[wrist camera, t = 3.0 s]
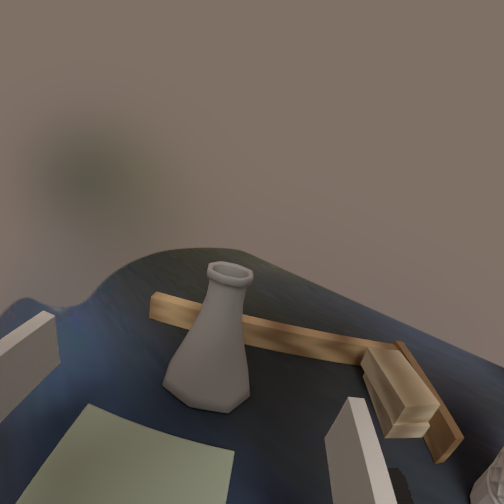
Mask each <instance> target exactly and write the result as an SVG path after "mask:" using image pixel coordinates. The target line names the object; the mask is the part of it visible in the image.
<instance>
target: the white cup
mask: <svg viewBox="0 0 504 504" xmlns="http://www.w3.org/2000/svg"><path fill="white" fill-rule="evenodd" d="M470 501H471V504H504V447H503V448H502V450H501V451H500V452H499V454H498V455H497V456H496V458H495V460H494V461H493V463H492V464H491V465H490V466H489V467H488V469H487V470H486V471H485V472H484V473H483V474H482V475H481V476H480V477H479V479H478V480H477V481H476V482H475V483H474V485H473V488H472V491H471V494H470Z"/></svg>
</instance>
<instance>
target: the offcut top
mask: <svg viewBox="0 0 504 504" xmlns="http://www.w3.org/2000/svg"><path fill="white" fill-rule="evenodd" d="M360 364H361V366H362V368H363V370H364V372H365V373H366V375H367V377H368V379H369V381H370V382H371V384H372V386H373V388H374V390H375V391H376V393H377V395H378V397H379V399H380V401H381V402H382V404H383V406H384V408H385V410H386V412H387V414H388V415H389V417H390V419H391V421H392V423H393V425H400V424H411V423H421V422H429V421H430V419H431V418H432V416H433V415H434V413H435V412H436V411H437V409H438V407H439V406H440V403H439V402H438V400H437V399H436V397H435V396H434V395H433V393H432V392H431V391H430V389H429V388H428V387H427V386H426V384H425V383H424V382H423V380H422V379H421V378H420V376H419V375H418V374H417V372H416V371H415V370H414V369H413V367H412V366H411V365H410V363H409V362H408V361H407V360H406V358H405V357H404V356H403V355H402V353H401V352H400V351H399V350H388V349H377V348H367V350H366V352H365V355H364V357H363V359H362V361H361V363H360Z"/></svg>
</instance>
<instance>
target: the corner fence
mask: <svg viewBox="0 0 504 504" xmlns="http://www.w3.org/2000/svg"><path fill="white" fill-rule="evenodd" d="M202 305H203V304H200V303H196V302H192V301H189V300H185V299H181V298H178V297H174V296H171V295H167V294H163V293H160V292H156V293H155V294H154V295H153V296H152V297H151V302H150V312H149V318H150V319H154V320H157V321H160V322H164V323H167V324H170V325H174V326H177V327H181V328H184V329H188V330H190V328H191V327H192V325H193V323H194V321H195V320H196V318H197V316H198V314H199V313H200V310H201V308H202ZM242 328H243V338H244V344H246V345H251V346H255V347H260V348H264V349H269V350H273V351H278V352H283V353H288V354H293V355H298V356H304V357H309V358H315V359H320V360H326V361H332V362H338V363H345V364H352V365H358V366H361V364H360V363H361V361H362V359H363V357H364V355H365V352H366V350H367V348H377V349H388V350H399V351H400V352H401V353H402V355H403V356H404V357H405V358H406V360H407V361H408V362H409V363H410V365H411V366H412V367H413V369H414V370H415V371H416V372H417V374H418V375H419V376H420V378H421V379H422V380H423V382H424V383H425V384H426V386H427V387H428V388H429V389H430V391H431V392H432V393H433V395H434V396H435V397H436V399H437V400H438V402H439V403H440V406H439V407H438V409H437V411H436V412H435V413H434V415H433V416H432V418H431V419H430V421H429V424H430V427H429V429H428V430H427V432H426V433H425V434H424V435H423V438H424V440H425V442H426V444H427V446H428V449H429V451H430V453H431V455H432V458H433V460H434V462H435V464H437V463H443V462H445V460H446V459H447V458H448V457H449V456H450V455H451V454H452V452H453V451H454V450H455V449H456V448H457V446H458V445H459V444H460V443H461V442H462V440H463V439H464V436H463V435H462V433H461V431H460V429H459V428H458V426H457V424H456V423H455V421H454V419H453V418H452V416H451V414H450V413H449V411H448V410H447V408H446V406H445V405H444V403H443V401H442V400H441V398H440V397H439V395H438V394H437V392H436V390H435V389H434V387H433V386H432V384H431V383H430V381H429V380H428V378H427V377H426V375H425V374H424V372H423V371H422V369H421V368H420V366H419V365H418V363H417V362H416V360H415V359H414V357H413V356H412V354H411V353H410V351H409V350H408V348H407V347H406V346H405V344H404V343H403V341H395V343H394V344H390V343H384V342H377V341H371V340H365V339H360V338H354V337H348V336H343V335H337V334H332V333H327V332H322V331H317V330H312V329H307V328H302V327H297V326H292V325H288V324H283V323H278V322H274V321H269V320H265V319H261V318H256V317H252V316H248V315H244V314H242Z"/></svg>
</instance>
